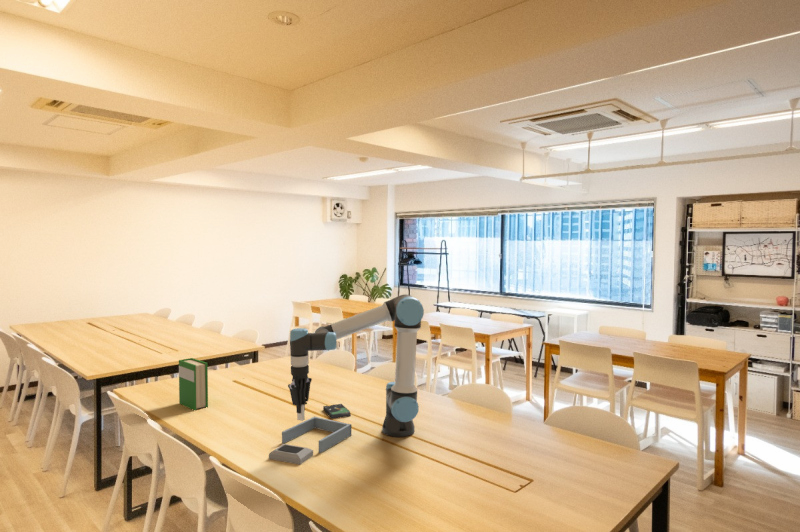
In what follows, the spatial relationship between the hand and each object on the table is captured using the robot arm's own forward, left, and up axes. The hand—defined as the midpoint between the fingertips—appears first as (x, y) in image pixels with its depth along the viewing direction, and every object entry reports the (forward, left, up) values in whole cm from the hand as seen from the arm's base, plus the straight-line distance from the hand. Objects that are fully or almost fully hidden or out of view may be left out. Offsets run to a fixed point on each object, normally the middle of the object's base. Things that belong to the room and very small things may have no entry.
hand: (300, 419), depth 210 cm
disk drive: (+13, -44, -13) cm, 48 cm away
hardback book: (+88, -16, -13) cm, 91 cm away
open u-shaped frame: (0, -12, -12) cm, 17 cm away
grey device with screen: (-2, +9, -13) cm, 16 cm away
